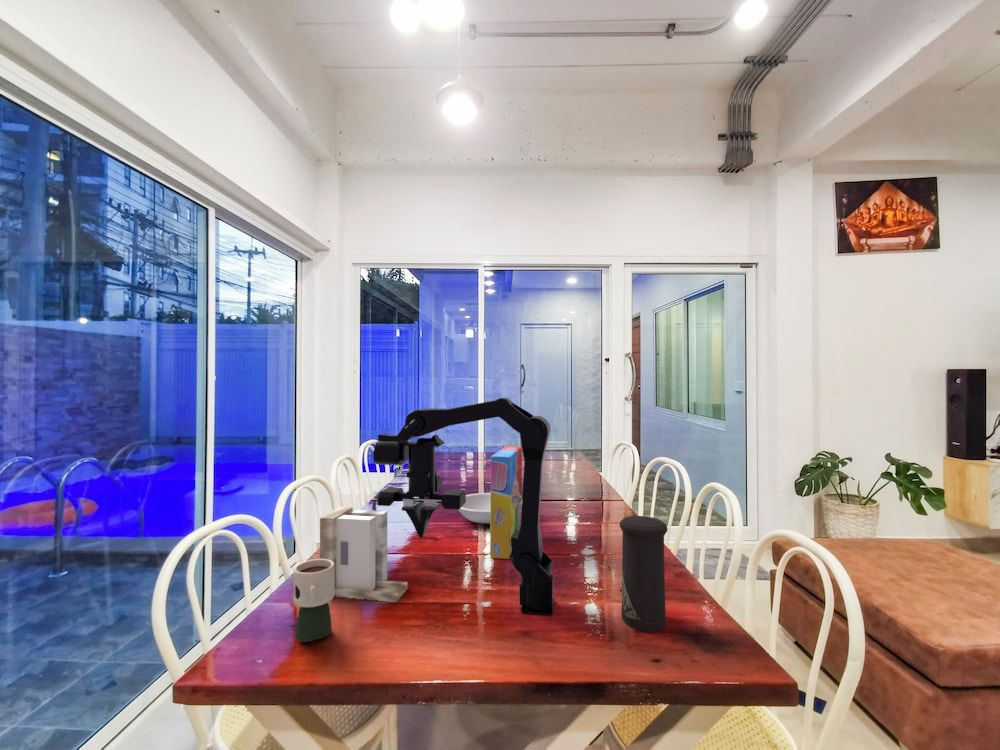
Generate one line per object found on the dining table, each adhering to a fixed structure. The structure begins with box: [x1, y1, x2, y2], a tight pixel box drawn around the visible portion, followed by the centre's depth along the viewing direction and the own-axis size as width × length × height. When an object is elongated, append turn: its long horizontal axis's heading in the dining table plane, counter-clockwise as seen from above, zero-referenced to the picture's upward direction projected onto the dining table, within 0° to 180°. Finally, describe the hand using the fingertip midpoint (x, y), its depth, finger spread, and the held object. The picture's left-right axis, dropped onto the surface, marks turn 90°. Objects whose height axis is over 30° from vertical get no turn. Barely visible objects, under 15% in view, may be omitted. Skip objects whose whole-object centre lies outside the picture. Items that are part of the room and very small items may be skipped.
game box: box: [489, 445, 523, 560], centre depth 131 cm, size 21×6×27 cm, turn 168°
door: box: [336, 515, 375, 590], centre depth 103 cm, size 8×3×16 cm, turn 80°
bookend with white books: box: [319, 506, 409, 603], centre depth 104 cm, size 18×10×17 cm, turn 80°
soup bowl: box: [457, 492, 491, 525], centre depth 155 cm, size 24×24×7 cm
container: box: [619, 515, 668, 632], centre depth 90 cm, size 9×9×20 cm
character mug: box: [292, 558, 335, 643], centre depth 85 cm, size 11×7×13 cm, turn 20°
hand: (421, 537), depth 101 cm, fingers closed
